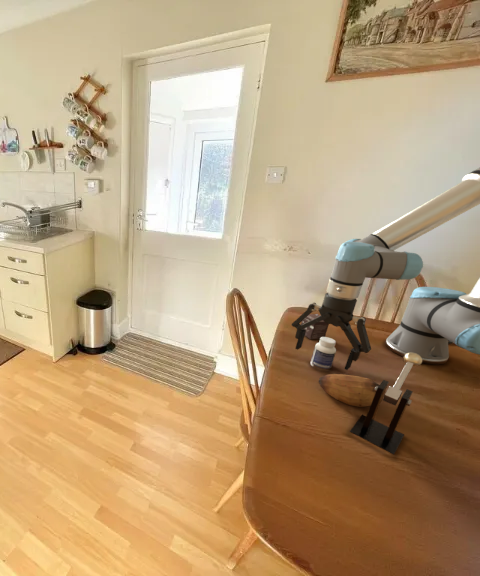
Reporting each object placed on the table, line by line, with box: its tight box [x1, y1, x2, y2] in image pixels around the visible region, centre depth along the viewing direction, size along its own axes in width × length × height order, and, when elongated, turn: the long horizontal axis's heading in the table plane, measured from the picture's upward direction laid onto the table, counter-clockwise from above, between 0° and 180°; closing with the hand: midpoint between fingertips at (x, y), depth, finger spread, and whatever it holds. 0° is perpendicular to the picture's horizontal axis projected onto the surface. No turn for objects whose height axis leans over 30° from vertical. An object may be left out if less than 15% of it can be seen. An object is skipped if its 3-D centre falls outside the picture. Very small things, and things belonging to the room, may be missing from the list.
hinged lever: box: [382, 353, 423, 406], centre depth 71 cm, size 15×3×3 cm, turn 126°
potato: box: [318, 373, 380, 408], centre depth 83 cm, size 8×14×8 cm
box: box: [300, 313, 330, 340], centre depth 117 cm, size 6×6×7 cm
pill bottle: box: [310, 336, 337, 370], centre depth 98 cm, size 5×5×10 cm
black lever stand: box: [349, 379, 414, 455], centre depth 71 cm, size 9×8×14 cm
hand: (321, 357), depth 98 cm, fingers open, 13 cm apart
